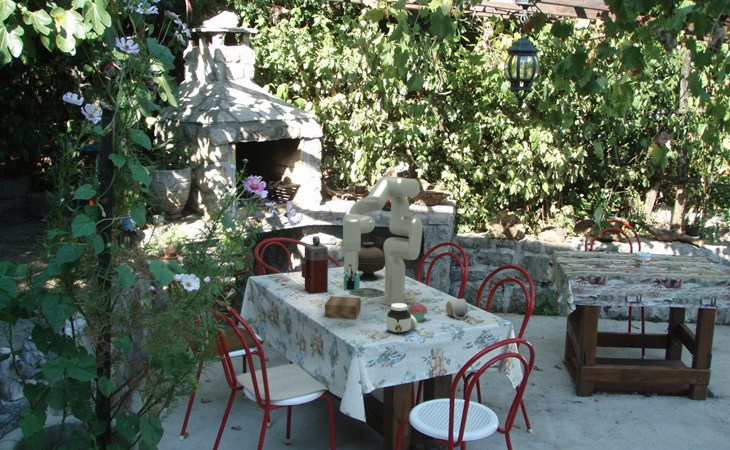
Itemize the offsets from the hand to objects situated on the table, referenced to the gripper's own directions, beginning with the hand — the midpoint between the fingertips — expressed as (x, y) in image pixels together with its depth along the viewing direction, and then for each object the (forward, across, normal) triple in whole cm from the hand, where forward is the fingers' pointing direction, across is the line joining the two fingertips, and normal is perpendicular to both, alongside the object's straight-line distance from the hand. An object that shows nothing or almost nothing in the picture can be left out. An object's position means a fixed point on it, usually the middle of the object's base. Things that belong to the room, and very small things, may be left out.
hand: (351, 286), depth 336 cm
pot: (+18, -80, -4) cm, 82 cm away
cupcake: (+17, -12, +28) cm, 35 cm away
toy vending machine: (+17, -48, -27) cm, 58 cm away
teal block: (+1, 0, 0) cm, 1 cm away
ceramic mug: (+17, -20, +46) cm, 53 cm away
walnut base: (+17, -14, -6) cm, 22 cm away
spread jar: (+17, +6, +23) cm, 29 cm away
